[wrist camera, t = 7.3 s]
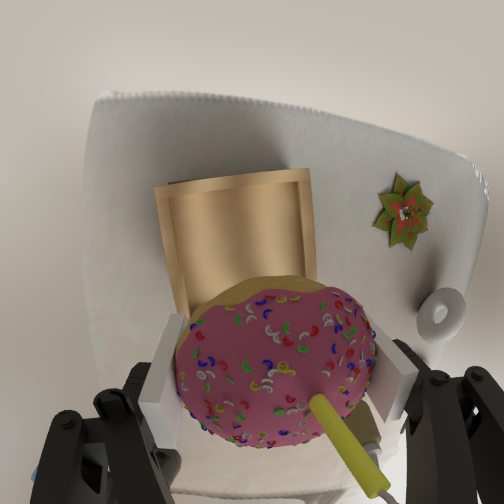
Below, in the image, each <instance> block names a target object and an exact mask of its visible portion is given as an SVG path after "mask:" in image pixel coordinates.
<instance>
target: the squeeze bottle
mask: <svg viewBox="0 0 504 504" xmlns="http://www.w3.org/2000/svg"><path fill="white" fill-rule="evenodd" d="M349 414H351V416H350V417H348V418H345V420H343V421H344V423H345V424H346V425H347V427H348V428H349V430H350V431H351V432H352V434H353V435H354V436H355V438H356V439H357V440H358V442H359V443H360V444H361V446H362V447H363V448H364V450H365V451H366V452H367V454H368V455H369V456H370V457H371V459H372V460H373V461H374V463H375V464H376V465H377V467H378V468H379V464H378V458H377V457H378V456H379V455H380V454H381V451H382V450H381V448H380V446H379V443H380V441H381V436H380V433H379V431H378V428H377V425H376V423H375V420H374V418H373V415H372V413H371V410H370V408H369V406H368V404H367V403H366V402H365V401H363V400H362V399H361V401H360V402H359V403H357V404H356V405H355V408H354V410H353V411H351V412H350V413H349ZM348 416H349V415H348ZM346 417H347V416H346Z"/></svg>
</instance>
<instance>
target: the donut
mask: <svg viewBox="0 0 504 504" xmlns="http://www.w3.org/2000/svg"><path fill="white" fill-rule="evenodd" d="M444 307H447V308H448V312H447V315H446V317H445V319H444V320H443V321H442V322H440V323H438V324H435V322H434V318H435V315H436V314H437V312H438V311H439V310H440V309H441V308H444ZM465 314H466V304H465V301H464V298H463V296H462V294H460V293H459V292H458V291H457V290H456V289H453V288H441V289H438V290H436V291H434V292H433V293H432V294H430V295H429V296H428V297H427V298H426V300H425V301H424V302H423V304H422V306H421V307H420V309H419V312H418V315H417V329H418V333H419V334H420V336H421V337H422V339H423V340H425V341H427V342H428V343H431V344H439V343H443V342H446V341H448V340H449V339H451V338H452V337H453V336H454V335H455V334H456V333H457V332H458V331H459V330H460V328H461V326H462V324H463V322H464V319H465Z"/></svg>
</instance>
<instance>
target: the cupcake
mask: <svg viewBox="0 0 504 504" xmlns="http://www.w3.org/2000/svg"><path fill="white" fill-rule="evenodd" d="M362 308H363V306H362V305H361V304H359V303H358V302H357V301H356V300H355V299H354V298H353V297H351V296H350V295H349V294H347V293H346V292H344V291H342V290H340V289H338V288H335V287H327V286H325V285H323V284H320V283H318V282H315V281H313V280H310V279H307V278H304V277H301V276H296V275H284V276H261V277H254V278H249V279H246V280H244V281H242V282H240V283H237V284H236V285H234V286H232V287H230V288H229V289H227V290H225V291H223V292H222V293H220V294H219V295H218V296H216V297H215V298H213V299H212V300H210V301H208V302H206V303H204V304H202V305H201V306H199V307H198V308H197V309H196V310H195V311H194V313H193V314H192V316H191V318H190V320H189V322H188V324H187V326H186V328H185V329H184V331H183V333H182V335H181V337H180V339H179V341H178V344H177V347H176V352H175V363H176V365H174V367H175V370H176V377H177V388H178V392H177V394H178V395H179V396H180V397H181V399H182V401H183V403H184V404H185V406H184V408H186V409H187V410H189V412H190V415H191V417H192V418H194V419H197V420H198V421H199V423H200V424H201V428H202V429H203V430H204V431H206V430H207V429H208V431H209V432H210V434H212V435H213V434H214V433H215V434H217V435H219V436H221V437H222V438H225V440H227V441H230V442H232V443H234V444H235V443H236V445H237V446H238V447H243V446H251V447H255V448H264V447H268V449H269V448H272V447H281V446H288V445H293V446H296V445H297V444H300V443H303V444H305V443H307V442H309V441H310V440H311V439H313V438H315V437H317V436H318V437H319V436H320V435H321V434H323V433H324V434H325V433H326V434H327V436H328V437H329V439H330V441H331V442H332V444H333V445H334V447H335V448H336V450H337V451H338V453H339V455H340V456H341V458H342V459H343V461H344V462H345V464H346V465H347V467H348V468H349V470H350V471H351V473H352V474H353V476H354V477H355V479H356V480H357V482H358V483H359V485H360V486H361V488H362V489H363V491H364V492H365V494H366V495H367V497H368V498H370V499H373V498H376V497H378V496H380V497H382V498H383V499H384V500H385V501H386V502H387V504H399V503H397V502H396V501H395V499H394V498H393V497H392V496H391V495H390V494H389V493H388V492H386V491H387V490H388V489H389V488H390V486H391V484H390V482H389V481H388V480H387V479H386V477H385V476H384V474H383V473H382V472H381V471H380V469H379V468H378V467H377V465H376V464H375V463H374V461H373V460H372V459H371V457H370V456H369V455H368V454H367V452H366V451H365V450H364V448H363V447H362V446H361V444H360V443H359V442H358V440H357V439H356V438H355V436H354V435H353V434H352V432H351V431H350V430H349V428H348V427H347V425H346V424H345V423H344V421H343V420H345V418H348V417H350V416H351V414H349V413H350V412H351V411H353V410H354V408H355V405H356V404H357V403H359V402H360V401H361V399H362V398H363V397H364V396H365V395H364V393H365V392H366V390H367V387H368V386H369V385H370V381H371V376H372V373H373V367H374V366H375V365H376V364H377V358H378V357H377V356H376V357H375V345H374V338H375V337H376V333H375V331H374V330H373V328H372V327H371V326H370V323H369V321H368V319H367V316H366V314H365V312H364V311H363V309H362ZM373 333H374V335H373ZM375 358H376V359H375ZM375 361H376V362H375ZM374 362H375V364H374ZM348 415H349V416H348ZM346 416H347V417H346ZM203 426H204V428H205V427H206V428H205V429H204V428H203ZM211 432H212V433H211ZM240 445H241V446H240Z"/></svg>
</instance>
